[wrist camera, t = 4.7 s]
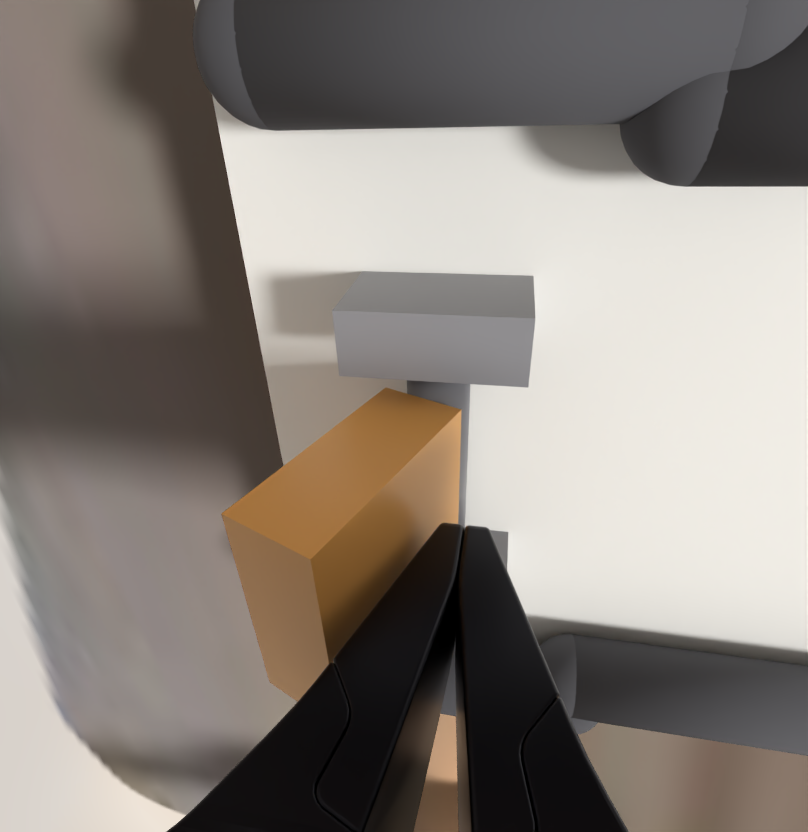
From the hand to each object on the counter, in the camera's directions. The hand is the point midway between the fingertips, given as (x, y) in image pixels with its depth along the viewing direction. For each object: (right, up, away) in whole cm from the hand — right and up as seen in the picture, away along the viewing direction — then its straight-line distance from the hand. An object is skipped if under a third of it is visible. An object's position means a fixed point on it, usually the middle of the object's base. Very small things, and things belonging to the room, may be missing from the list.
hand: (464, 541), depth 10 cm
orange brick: (0, +1, +2) cm, 2 cm away
